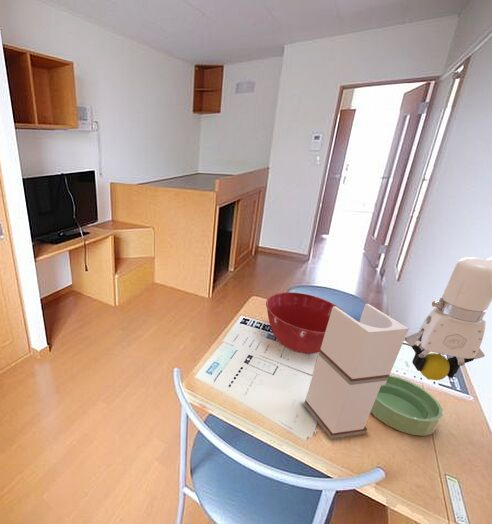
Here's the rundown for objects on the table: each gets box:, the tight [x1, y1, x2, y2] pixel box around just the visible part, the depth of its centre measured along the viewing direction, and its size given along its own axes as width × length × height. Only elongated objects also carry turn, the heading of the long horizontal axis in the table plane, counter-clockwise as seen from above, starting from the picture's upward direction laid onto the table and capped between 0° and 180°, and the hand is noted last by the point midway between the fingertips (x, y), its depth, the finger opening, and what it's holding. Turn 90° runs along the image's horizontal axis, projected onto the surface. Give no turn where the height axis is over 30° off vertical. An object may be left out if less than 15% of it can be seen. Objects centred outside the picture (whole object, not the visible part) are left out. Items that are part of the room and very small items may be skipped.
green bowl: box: [370, 374, 444, 437], centre depth 91 cm, size 18×18×6 cm
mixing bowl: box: [265, 291, 345, 355], centre depth 119 cm, size 28×28×16 cm
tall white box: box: [303, 303, 409, 439], centre depth 82 cm, size 11×11×35 cm
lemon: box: [419, 352, 450, 381], centre depth 77 cm, size 6×6×8 cm
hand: (432, 370), depth 78 cm, fingers closed on lemon, 5 cm apart
